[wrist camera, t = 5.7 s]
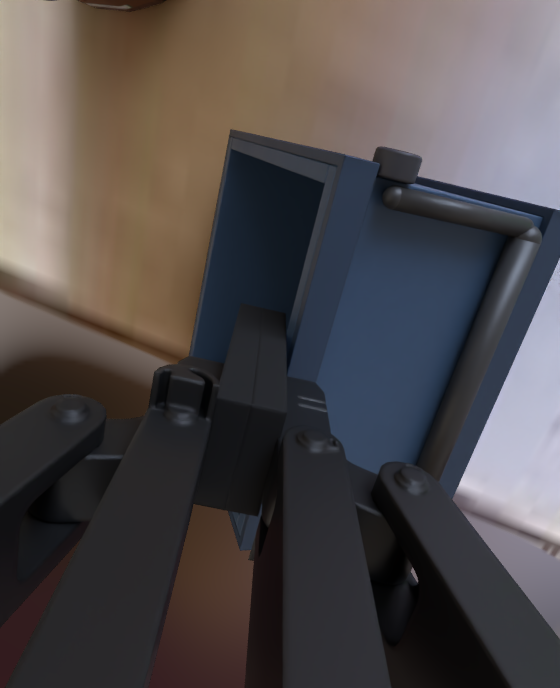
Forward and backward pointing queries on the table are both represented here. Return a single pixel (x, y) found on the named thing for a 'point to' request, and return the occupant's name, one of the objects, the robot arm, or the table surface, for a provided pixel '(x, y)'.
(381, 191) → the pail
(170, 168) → the table surface
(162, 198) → the table surface
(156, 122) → the table surface
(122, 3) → the food container
